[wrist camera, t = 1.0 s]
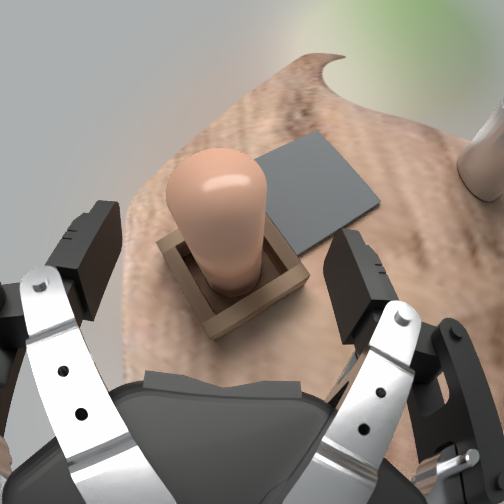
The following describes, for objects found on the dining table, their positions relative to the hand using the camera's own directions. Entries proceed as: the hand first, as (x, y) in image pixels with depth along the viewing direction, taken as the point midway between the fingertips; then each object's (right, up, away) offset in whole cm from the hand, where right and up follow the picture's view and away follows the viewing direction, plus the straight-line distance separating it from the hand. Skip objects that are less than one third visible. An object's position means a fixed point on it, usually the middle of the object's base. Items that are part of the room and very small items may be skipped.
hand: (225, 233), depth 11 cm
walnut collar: (-1, -3, +22) cm, 22 cm away
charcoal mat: (+8, +7, +25) cm, 27 cm away
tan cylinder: (-1, -1, +22) cm, 22 cm away
